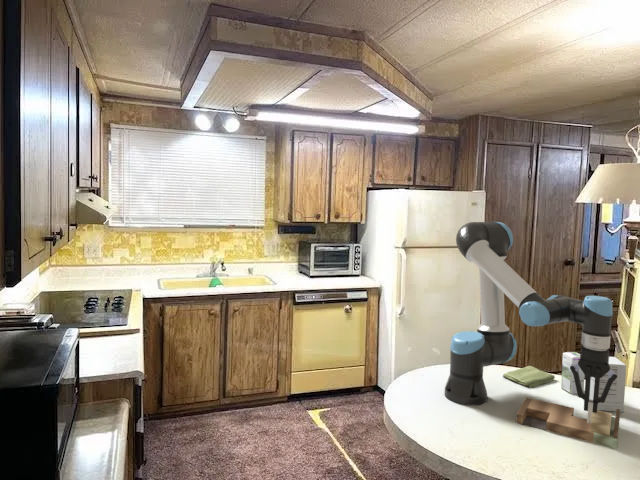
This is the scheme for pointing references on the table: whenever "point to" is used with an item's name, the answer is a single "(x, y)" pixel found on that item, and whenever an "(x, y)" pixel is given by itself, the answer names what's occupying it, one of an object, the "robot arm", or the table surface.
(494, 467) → the table surface
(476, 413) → the table surface
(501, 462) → the table surface
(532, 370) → the washcloth
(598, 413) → the maple block
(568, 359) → the syrup box
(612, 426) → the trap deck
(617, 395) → the supplement box
